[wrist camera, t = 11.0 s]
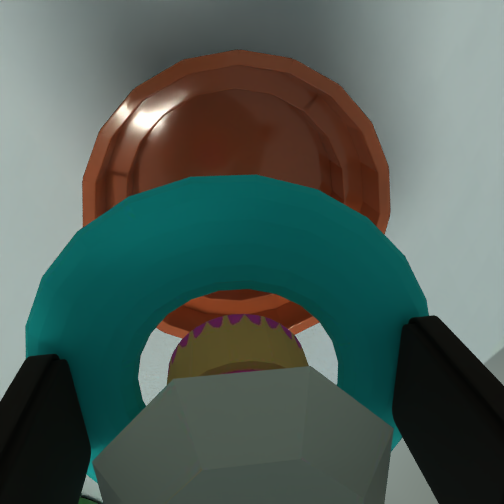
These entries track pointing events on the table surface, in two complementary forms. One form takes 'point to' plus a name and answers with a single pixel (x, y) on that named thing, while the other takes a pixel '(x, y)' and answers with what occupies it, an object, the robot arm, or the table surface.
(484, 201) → the table surface
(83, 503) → the tape roll
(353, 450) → the ornament
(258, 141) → the bowl
